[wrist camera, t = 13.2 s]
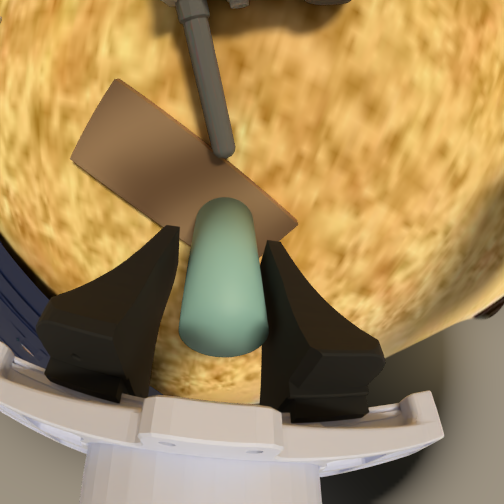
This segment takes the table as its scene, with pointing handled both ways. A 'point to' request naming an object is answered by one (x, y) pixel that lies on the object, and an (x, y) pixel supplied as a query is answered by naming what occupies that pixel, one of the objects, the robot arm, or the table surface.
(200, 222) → the dowel
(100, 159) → the batten
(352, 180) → the table surface
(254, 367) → the table surface
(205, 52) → the walkie-talkie
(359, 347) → the robot arm
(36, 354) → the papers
